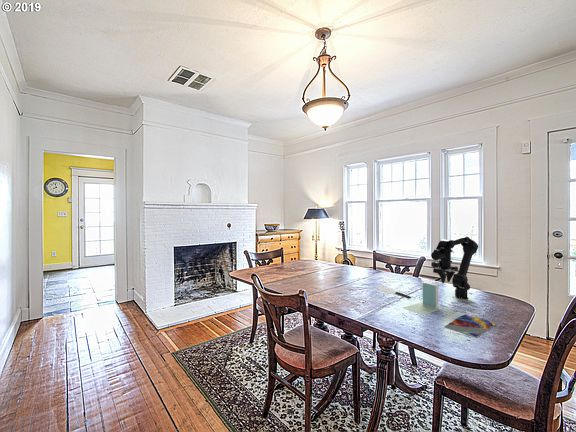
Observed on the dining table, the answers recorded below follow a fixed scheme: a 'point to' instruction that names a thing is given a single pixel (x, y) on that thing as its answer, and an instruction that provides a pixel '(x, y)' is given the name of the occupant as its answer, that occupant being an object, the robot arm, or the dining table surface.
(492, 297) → the dining table surface
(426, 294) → the standing glazed tile
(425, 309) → the sage rubber mat
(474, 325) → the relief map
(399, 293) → the kitchen cleaver
